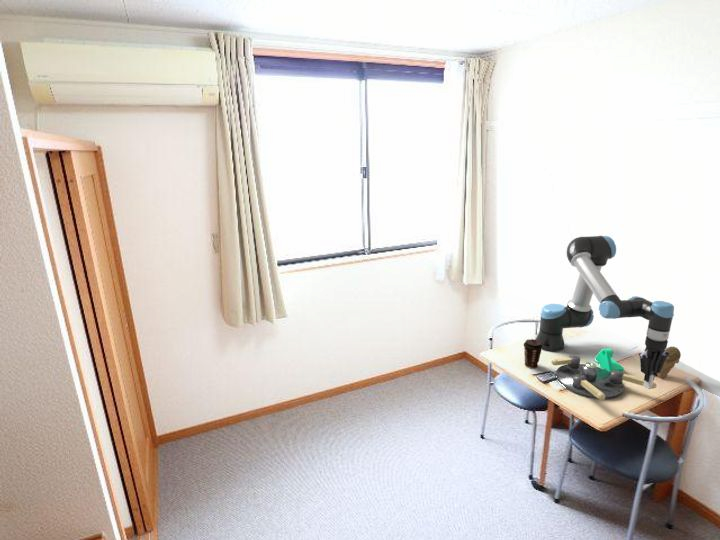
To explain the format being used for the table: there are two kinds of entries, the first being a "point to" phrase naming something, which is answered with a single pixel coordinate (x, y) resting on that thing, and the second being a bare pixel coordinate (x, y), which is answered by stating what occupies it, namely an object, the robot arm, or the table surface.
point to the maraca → (568, 361)
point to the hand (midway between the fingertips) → (647, 387)
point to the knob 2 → (626, 378)
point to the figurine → (670, 361)
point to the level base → (599, 383)
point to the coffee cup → (532, 353)
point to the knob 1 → (587, 386)
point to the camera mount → (608, 361)
